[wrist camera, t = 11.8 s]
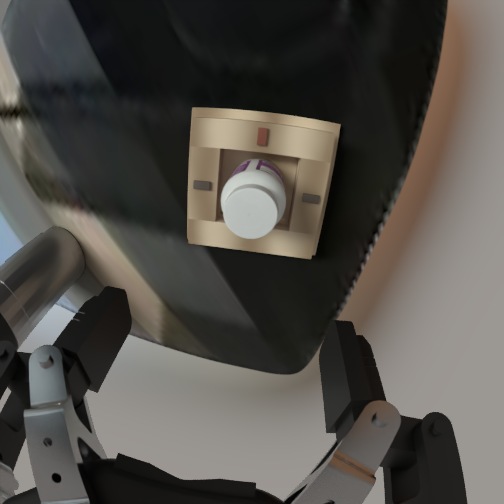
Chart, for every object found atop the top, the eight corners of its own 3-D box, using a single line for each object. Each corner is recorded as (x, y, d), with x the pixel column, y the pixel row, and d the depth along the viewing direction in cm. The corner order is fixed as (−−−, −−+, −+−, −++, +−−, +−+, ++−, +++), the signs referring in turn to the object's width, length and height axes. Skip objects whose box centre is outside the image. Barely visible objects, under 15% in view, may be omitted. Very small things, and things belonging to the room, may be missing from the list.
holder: (188, 236, 33) (179, 251, 29) (194, 107, 25) (182, 107, 22) (314, 252, 32) (318, 269, 29) (339, 124, 25) (348, 126, 22)
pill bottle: (238, 210, 30) (222, 252, 21) (227, 162, 27) (204, 186, 19) (287, 202, 29) (292, 243, 20) (279, 153, 27) (280, 172, 18)
